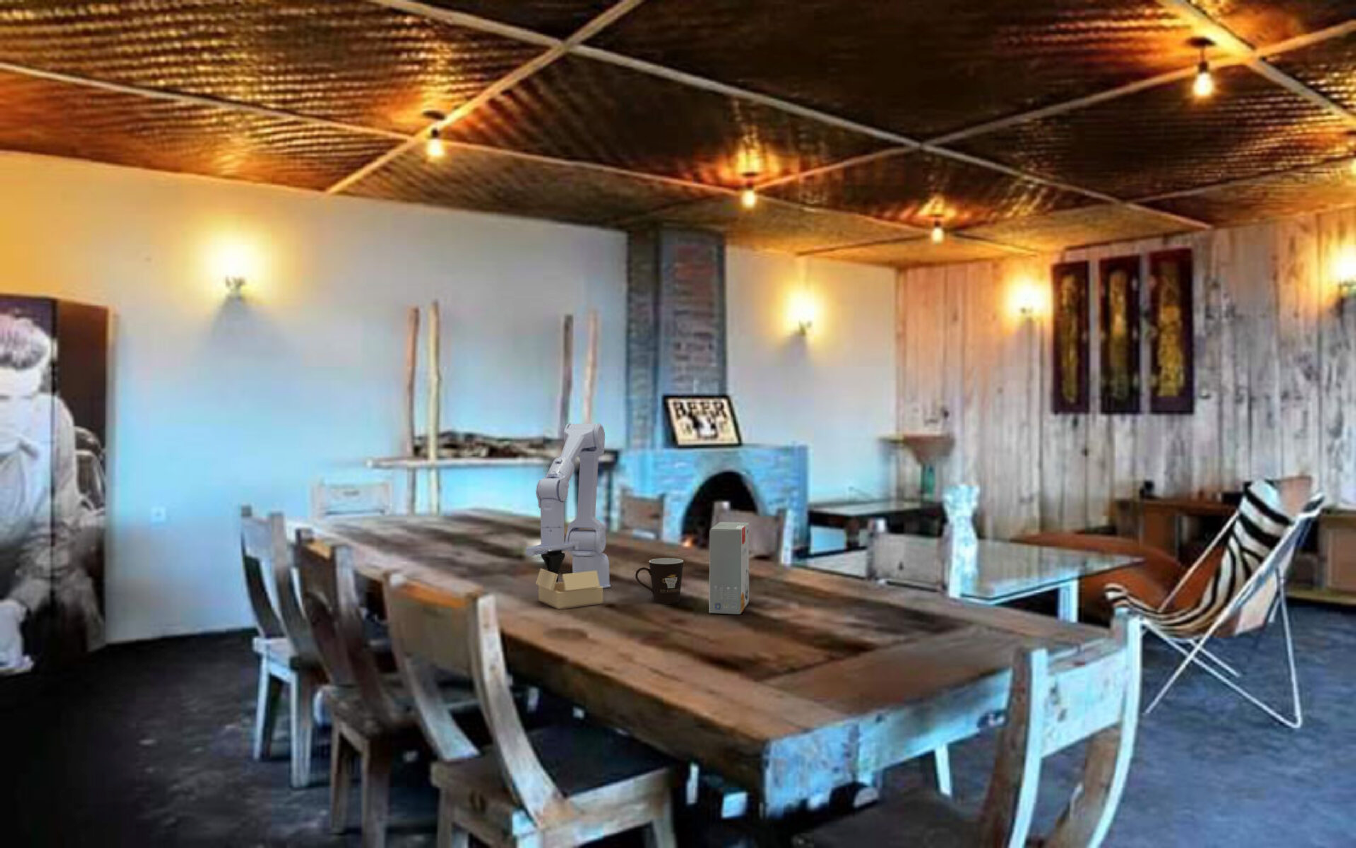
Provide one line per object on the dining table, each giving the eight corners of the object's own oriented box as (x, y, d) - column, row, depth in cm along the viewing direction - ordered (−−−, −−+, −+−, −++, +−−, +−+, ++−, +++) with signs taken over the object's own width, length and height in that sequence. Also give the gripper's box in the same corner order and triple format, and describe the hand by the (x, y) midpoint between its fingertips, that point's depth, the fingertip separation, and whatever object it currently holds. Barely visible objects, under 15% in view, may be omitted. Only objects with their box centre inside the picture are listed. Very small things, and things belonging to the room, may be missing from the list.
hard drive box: (741, 615, 218) (740, 529, 218) (708, 614, 220) (708, 529, 219) (749, 601, 234) (749, 521, 233) (719, 600, 235) (718, 520, 235)
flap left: (595, 571, 232) (596, 570, 232) (598, 587, 231) (599, 586, 230) (561, 575, 228) (563, 574, 227) (564, 591, 226) (566, 590, 226)
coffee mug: (685, 597, 239) (685, 558, 239) (682, 604, 230) (681, 564, 230) (639, 597, 240) (639, 558, 240) (635, 604, 232) (634, 563, 231)
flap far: (543, 569, 235) (540, 568, 235) (558, 574, 228) (555, 573, 227) (538, 584, 235) (535, 583, 234) (553, 590, 227) (550, 589, 227)
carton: (582, 595, 243) (581, 580, 243) (603, 603, 233) (602, 587, 232) (538, 600, 237) (538, 584, 236) (558, 609, 226) (558, 592, 226)
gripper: (566, 523, 239) (566, 576, 240) (518, 528, 229) (519, 584, 230) (583, 525, 234) (584, 579, 235) (535, 530, 224) (536, 587, 225)
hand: (553, 582), depth 232 cm, fingers closed, pressing on flap far
